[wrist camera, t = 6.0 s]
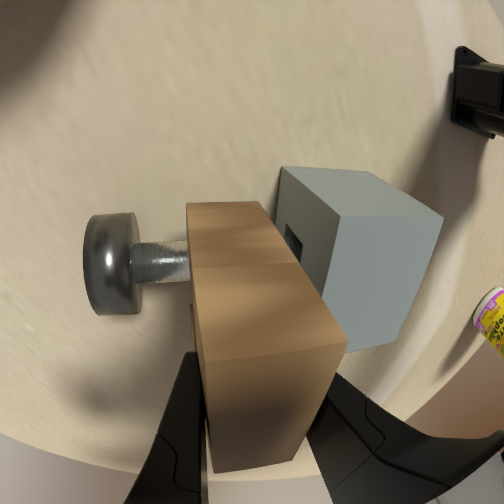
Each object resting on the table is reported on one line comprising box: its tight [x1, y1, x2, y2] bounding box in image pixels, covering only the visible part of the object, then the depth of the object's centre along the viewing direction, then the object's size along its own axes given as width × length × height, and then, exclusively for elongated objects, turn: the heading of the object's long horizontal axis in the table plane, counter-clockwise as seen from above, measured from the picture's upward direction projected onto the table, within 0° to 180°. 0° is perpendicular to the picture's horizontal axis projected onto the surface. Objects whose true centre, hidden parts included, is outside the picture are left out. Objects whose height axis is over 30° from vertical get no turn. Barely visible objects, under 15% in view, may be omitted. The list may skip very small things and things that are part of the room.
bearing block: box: [275, 166, 444, 354], centre depth 16 cm, size 6×8×7 cm
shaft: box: [83, 213, 303, 316], centre depth 15 cm, size 13×5×5 cm, turn 85°
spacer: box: [186, 202, 349, 474], centre depth 11 cm, size 3×7×8 cm, turn 175°
